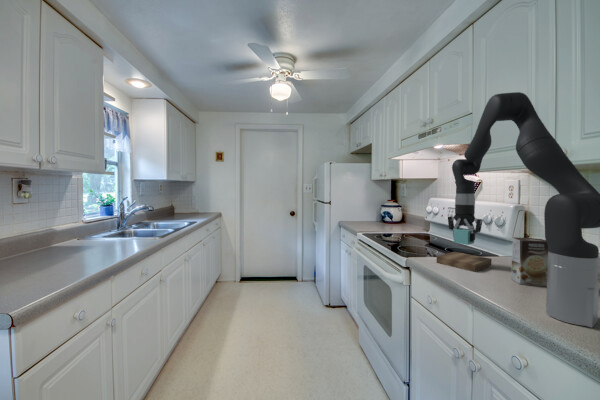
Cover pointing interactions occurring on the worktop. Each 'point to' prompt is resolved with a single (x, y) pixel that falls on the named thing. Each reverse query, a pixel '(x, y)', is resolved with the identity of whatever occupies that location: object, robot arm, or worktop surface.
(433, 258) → the worktop surface
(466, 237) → the teal cube
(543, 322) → the worktop surface
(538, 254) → the coffee box
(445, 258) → the walnut stand
